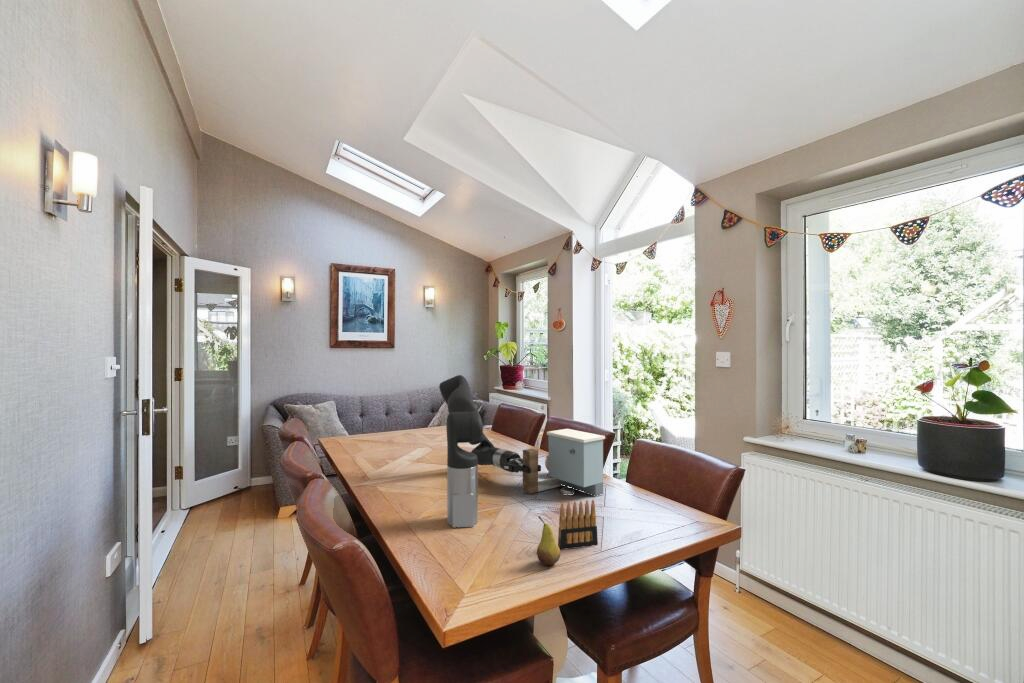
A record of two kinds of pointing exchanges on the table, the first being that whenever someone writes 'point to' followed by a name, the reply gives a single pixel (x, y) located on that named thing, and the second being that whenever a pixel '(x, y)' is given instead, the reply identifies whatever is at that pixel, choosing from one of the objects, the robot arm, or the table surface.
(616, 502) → the table surface
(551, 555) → the fruit
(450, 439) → the robot arm
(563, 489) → the steel puck
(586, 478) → the cabinet
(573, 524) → the ammunition clip
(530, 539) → the table surface
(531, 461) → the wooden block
